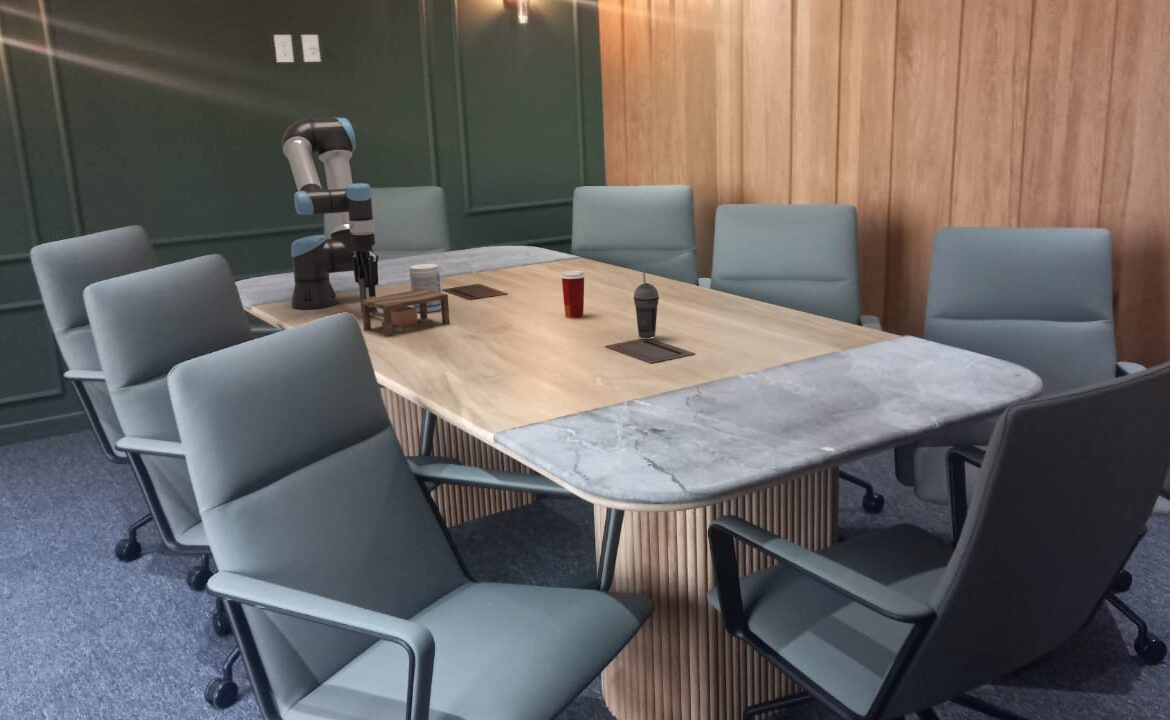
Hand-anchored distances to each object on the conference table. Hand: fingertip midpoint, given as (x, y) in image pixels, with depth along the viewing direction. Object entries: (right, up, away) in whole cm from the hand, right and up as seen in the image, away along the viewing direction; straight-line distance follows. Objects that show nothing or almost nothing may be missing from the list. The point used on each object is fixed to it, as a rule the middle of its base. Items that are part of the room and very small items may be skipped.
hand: (368, 305), depth 327 cm
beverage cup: (+87, -11, -39) cm, 96 cm away
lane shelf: (+15, -7, -15) cm, 23 cm away
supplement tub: (+18, -1, +8) cm, 19 cm away
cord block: (+7, -5, -7) cm, 11 cm away
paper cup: (+66, -4, -9) cm, 67 cm away
